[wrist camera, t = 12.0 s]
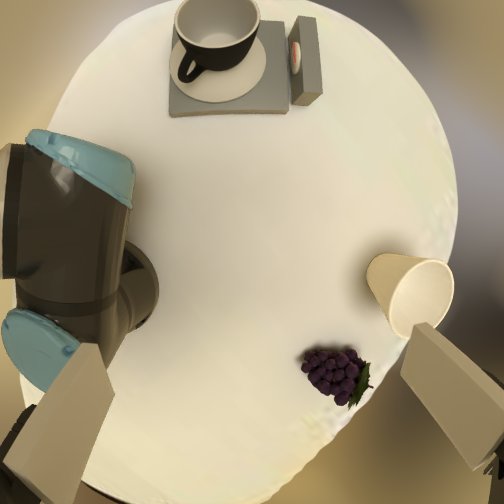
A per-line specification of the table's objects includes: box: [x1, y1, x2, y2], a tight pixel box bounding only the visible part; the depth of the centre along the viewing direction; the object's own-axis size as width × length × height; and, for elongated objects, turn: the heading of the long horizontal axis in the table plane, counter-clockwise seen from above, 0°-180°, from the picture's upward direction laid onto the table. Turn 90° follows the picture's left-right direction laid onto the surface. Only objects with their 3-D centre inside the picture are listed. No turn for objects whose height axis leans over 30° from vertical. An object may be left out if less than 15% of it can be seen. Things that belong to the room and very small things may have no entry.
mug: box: [174, 0, 260, 83], centre depth 26 cm, size 12×9×10 cm
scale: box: [169, 16, 323, 117], centre depth 31 cm, size 19×15×7 cm
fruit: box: [301, 349, 374, 411], centre depth 44 cm, size 10×11×15 cm
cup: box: [366, 253, 454, 339], centre depth 39 cm, size 12×12×12 cm
